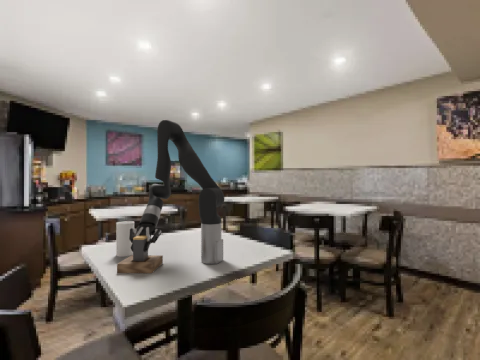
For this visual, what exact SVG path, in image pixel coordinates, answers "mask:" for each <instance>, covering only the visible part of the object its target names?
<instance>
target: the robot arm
mask: <svg viewBox="0 0 480 360" xmlns="http://www.w3.org/2000/svg"><path fill="white" fill-rule="evenodd" d="M156 132H157V133H156V135H157V140H156V141H157V147H156V148H157V159H156V160H157V161H156V167H155V175H154V177H155V179H156V180H159V181H161V182H163V184H160V183H159V184H158V183H153V184H152V185H150V187H149V189H148V193H149V195H148V197H149V198H148V202H147V204H146V207H145V208H144V210H143V213H142V215H141V218H140V221H139V224H138V226H137V227H136V228H134V229H132V228H131V229H130V236H129V240H130V241H131V243H132V246H131V250H132V252H133V238H134V237H136V236H147V242H146V243H145V246H144V248H143V251H144V252H146V251H148V252H149V249H150V246H151V244H156V242H157V241H158V239H159V238H160V236H161V235H162V230H161V229H160V228H157V226H158V223H159V220H160V218H161V213H162V210H163V207H164V201H163V200H168V199H169V198H170V197H171V194H172V189H171V182H170V178H171V177H170V176H171V169H172V159H171V156H170V152H169V141H171V142H172V144H174V146H175V147H176V149H177V152H178V153H177V154H178V155H177V156H178V158H177V159H178V162H179V164H180V166H181V167H182V169H183V171H184V173H186V174H187V175H188V177H190V178H191V179H192V180H193V181H194V182H195V183H197V184H198V185H199V186H200V188H201V191H200V192H199V194H198V215H199V218H200V239H201V240H200V243H201V244H200V253H201V254H200V257H201V263H203V264H207V265H215V264H216V265H218V264H219V263H221V262H223V261H224V239H223V238H222V217H221V216H220V215H219V214H218V212H217V211H218V210H217V208H219V207H221V206H223V204H224V202H225V195H224V192H223V190H222V189H221V188H220V187H219V185H218V184H217V183H216V181H215V180H214V179H213V177H212V176H211V175H210V173H209V172H208V170H207V169H206V167H205V166H204V164H203V162H202V160H201V159H200V157H199V155H198V154H197V152H196V151H195V150H194V148H193V147H192V145H191V144H190V142H189V140H188V138H187V136H186V134H185V132H184V131H183V128H182V126H181V125H180V124H179V123H177V122H174V121H172V120H169V119H165V118H164V119H162V120H161V121H159V123H158V125H157V131H156Z"/></svg>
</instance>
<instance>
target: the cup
mask: <svg viewBox="0 0 480 360" xmlns="http://www.w3.org/2000/svg"><path fill="white" fill-rule="evenodd" d="M115 225H116V227H115V229H116V230H115V231H116V235H115V238H116V240H115V241H116V243H115V245H116V246H115V247H116V249H115V251H116V253H115V254H116V256H117V257H130V256H131V255H133V252H132V250H131V246H132V243H131V241H130V240H129V236H130V229H131V228H132V229H135V221H133V220H126V221H117V222H115Z"/></svg>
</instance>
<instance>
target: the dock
mask: <svg viewBox="0 0 480 360" xmlns="http://www.w3.org/2000/svg"><path fill="white" fill-rule="evenodd" d="M163 256H164V255H157V254H156V255H149V254H148V258H147V259H146V260H144V261H133V255H130V256H127V257H126V258H125V259H123V260H121V261H120V262H117V264H116V273H118V274H152V273H154V271H157V269H158V268H159V267H160V266H161V265H163V262H164V261H163V259H164V258H163Z"/></svg>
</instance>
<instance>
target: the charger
mask: <svg viewBox="0 0 480 360" xmlns="http://www.w3.org/2000/svg"><path fill="white" fill-rule="evenodd" d="M135 236H136V235H135ZM135 236H134V238H133V261H144V260H146V259H147V258H148V255H149V250H148V251H146V252H144V251H143V248H144V246H145V243H146V242H147V236H136V237H135Z"/></svg>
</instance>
